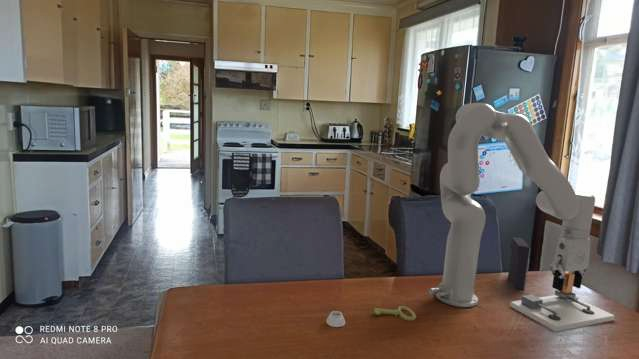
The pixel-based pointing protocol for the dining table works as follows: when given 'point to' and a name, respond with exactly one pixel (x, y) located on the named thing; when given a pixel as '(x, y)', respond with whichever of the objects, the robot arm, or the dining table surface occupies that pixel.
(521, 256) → the calculator
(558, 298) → the gauge board
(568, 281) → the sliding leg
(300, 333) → the dining table surface
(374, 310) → the key
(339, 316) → the white jar
